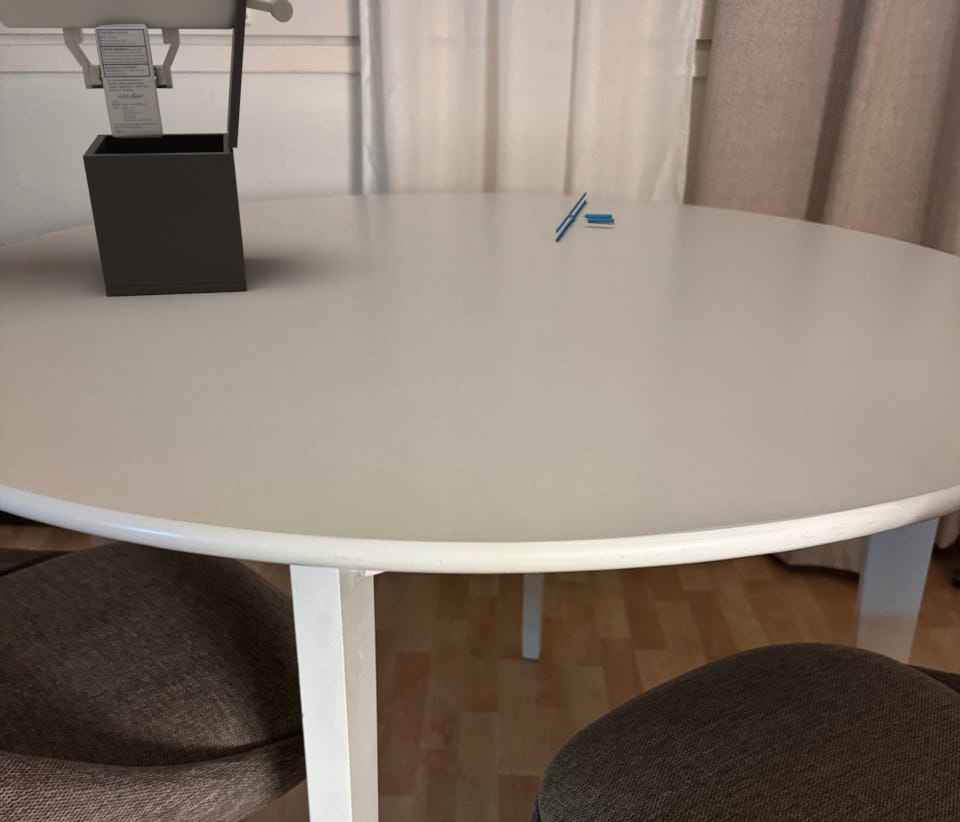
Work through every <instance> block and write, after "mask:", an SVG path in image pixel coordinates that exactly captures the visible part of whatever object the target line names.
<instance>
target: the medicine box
mask: <svg viewBox="0 0 960 822" xmlns="http://www.w3.org/2000/svg"><path fill="white" fill-rule="evenodd" d="M94 36H95V45H96V51H97V58H98V63H99V65H100V69H101V77H102V80H103V87H104V88H103V92H104V93H103V94H104V99H105V104H106V110H107V116H108V120H109V127H110V132H111V134H112V136H113V137H115V138H148V137H160V138H161V137H162V135H163V134H164V129H163V124H162V122H163V121H162V117H161V109H160V103H159V95H158V90H157V89H158V88H156V81H155V79H156V77H155V74H154V68H153V66H154V62H153V53H152V48H151V47H152V46H151V41H150V35H149V29H148V28H147V26H146V25H145V24H107V25H99V26H96V27H95V28H94Z"/></svg>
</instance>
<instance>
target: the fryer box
mask: <svg viewBox="0 0 960 822" xmlns="http://www.w3.org/2000/svg"><path fill="white" fill-rule="evenodd" d="M82 161H83V166H84V172H85V177H86V183H87V189H88V195H89V202H90V207H91V213H92V219H93V224H94V230H95V235H96V241H97V247H98V253H99V259H100V264H101V265H100V266H101V271H102V277H103V282H104V287H105V294H106V296H107V297H114V296H115V297H119V296H121V297H122V296H143V295H144V296H145V295H148V296H149V295H171V294H173V295H174V294H175V295H176V294H197V293H224V292H225V293H226V292H247V291H248V285H247V273H246V261H245V251H244V242H243V241H244V239H243V230H242V222H241V213H240V211H241V210H240V203H239V201H240V200H239V193H238V183H237V182H238V181H237V173H236V162H235V153H234V148H233V147H228V136H227V132H211V133H210V132H209V133H208V132H207V133H206V132H205V133H204V132H203V133H202V132H201V133H200V132H199V133H197V132H196V133H163V135H162V137H161V138H160V137H148V138H115V137H113V136H112V133H110V134H97V135H96V137H94V139H93V141H92V142H91V144H90V145H89V147H88V148H87V149H86V150H85V152H84V154H83V155H82Z"/></svg>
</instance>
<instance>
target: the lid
mask: <svg viewBox="0 0 960 822" xmlns="http://www.w3.org/2000/svg"><path fill="white" fill-rule="evenodd" d="M247 9H251V10H257V11H262V12H265V13H269V14H270V15H271V16H272V17H273V18H274V19H275V20H276V21H278V22H280V23H287V22H290V20H292V18H293V15H294V7H293V5H292V3H291V2H290V1H289V0H270V1H269V0H236V7H235V22H234V28H233V29H232V34H231V35H232V37H231V52H230V70H229V86H228V101H227V103H228V104H227V119H226V133H227V136H228V147H233V149H238V143H239V128H240V112H241V97H242V82H243V67H244V66H243V65H244V52H245V50H244V49H245V37H246V35H245V34H246V21H247V20H246V18H247Z"/></svg>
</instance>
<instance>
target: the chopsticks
mask: <svg viewBox="0 0 960 822" xmlns="http://www.w3.org/2000/svg"><path fill="white" fill-rule="evenodd" d="M587 192H588V191H585V192H584V193H583V194H582V195H581V197H579V199H578V201H577V202H576V203H575V204H574V205H573V207H572V209H570V211H569V212H568V213H567V215H566V217H564V218H563V220H562V221H561V223H560V224H559V225H558V227H557V228H556V229H555V234H558V233H559V232H560V233H559V234H558V235H557V237H556V238H555V243H556V242H559V240H560V238H561V237H562V236H563V235H564V233H565V232H566V231H567V230H568V228H569V227H570V225H571V224H572V223H573V222H575V221H577V219H576V217H577V216H578V214H579V213H580V212H581V210H582V209H583V207H585V204H586V203H587V199H584V198H585V197H586V196H587V194H588V193H587ZM582 201H583V202H582ZM581 202H582V203H581ZM580 204H581V205H580ZM579 205H580V206H579ZM578 206H579V207H578ZM577 208H578V209H577ZM576 209H577V210H576ZM575 210H576V211H575ZM574 212H575V213H574ZM573 213H574V214H573ZM583 218H584V219H585V221H587V223H596V224H597V223H600V224H601V223H602V224H603V223H604V224H614V223H615V218H614V217H613V214H611V213H600V214H599V213H585V215H583ZM569 219H570V220H569ZM566 222H567V223H566ZM565 224H566V225H565ZM564 225H565V226H564ZM563 226H564V227H563ZM561 229H562V230H561ZM560 230H561V231H560Z"/></svg>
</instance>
